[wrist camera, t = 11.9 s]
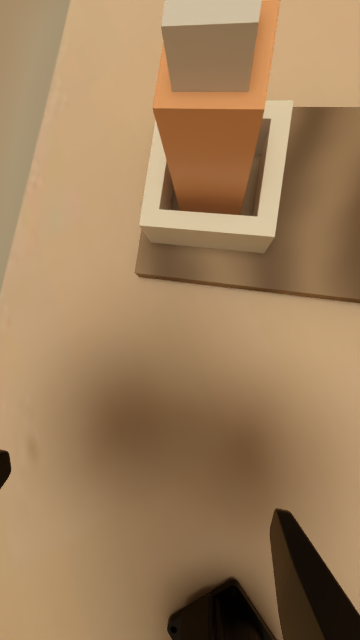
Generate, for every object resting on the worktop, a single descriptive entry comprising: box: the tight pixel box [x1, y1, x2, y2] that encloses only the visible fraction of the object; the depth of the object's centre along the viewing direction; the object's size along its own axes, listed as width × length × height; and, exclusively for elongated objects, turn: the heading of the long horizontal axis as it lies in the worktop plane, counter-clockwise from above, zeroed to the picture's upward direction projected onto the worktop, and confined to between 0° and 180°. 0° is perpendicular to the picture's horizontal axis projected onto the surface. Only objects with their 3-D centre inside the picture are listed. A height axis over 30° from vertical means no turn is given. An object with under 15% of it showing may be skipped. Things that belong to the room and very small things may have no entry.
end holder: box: [139, 100, 293, 253], centre depth 17 cm, size 9×9×3 cm
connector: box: [153, 0, 280, 215], centre depth 13 cm, size 4×4×11 cm
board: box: [135, 107, 360, 303], centre depth 18 cm, size 22×14×1 cm, turn 81°
